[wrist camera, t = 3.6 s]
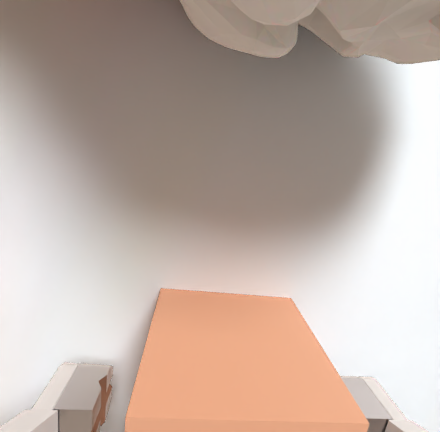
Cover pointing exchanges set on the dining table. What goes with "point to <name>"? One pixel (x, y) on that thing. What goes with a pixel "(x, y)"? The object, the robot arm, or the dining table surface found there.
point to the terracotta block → (236, 370)
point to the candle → (323, 26)
